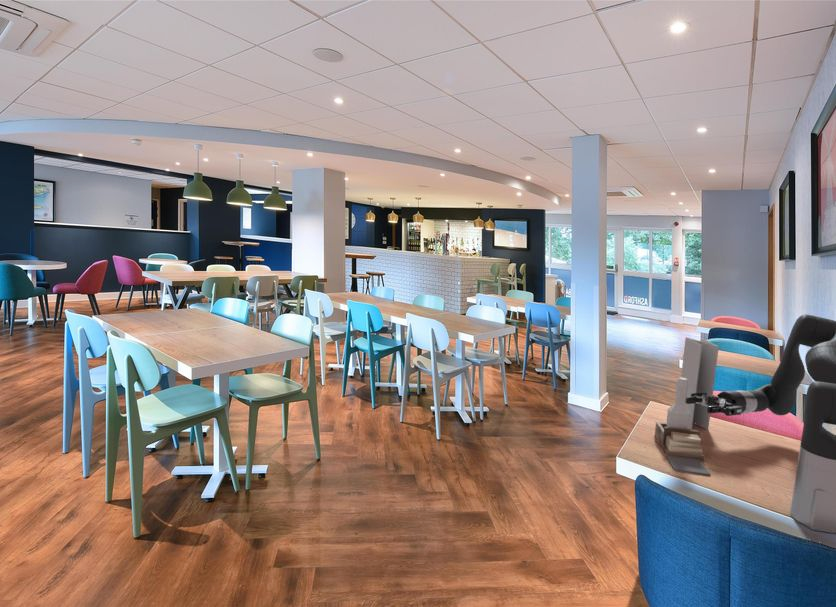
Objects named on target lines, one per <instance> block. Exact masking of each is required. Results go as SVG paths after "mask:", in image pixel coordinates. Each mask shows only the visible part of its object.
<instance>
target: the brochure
mask: <svg viewBox="0 0 836 607" xmlns="http://www.w3.org/2000/svg"><path fill="white" fill-rule="evenodd" d="M683 348H684V349H683V356H682V357H683V358H682V365H681V367H682V368H681V374H680V378H686V379H687V381H688V385H689V386H688V391H687V395H686V397H691V394H692V393H707V395H708V396H714V395H713V394H714V387H715V379H716V373H717V372H716V371H717V364H718V355H719V349H720V348H719V345H717V344H715V343H712V342H710V341H709V340H706V339H705V338H702V337H701V338H700V340H697V339H694V338H690V337H687V336H685V341H684V347H683ZM699 402H701V401H699ZM705 404H707V401H705ZM685 405H686V406H687V408H688V410H689V411H690V413H691V416H690V425H689V426H690V427H691V428H692V429H693V424H695V423H696V424H695V425H697V426H699V427H701V428H703V429H705V430H707V431H709V428H710V421H711V420H710V419H711V413H708V412H707V409H708V406H702V404H697V403H694V404H687V403H686V404H685ZM693 422H694V423H693Z"/></svg>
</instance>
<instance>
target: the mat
mask: <svg viewBox="0 0 836 607" xmlns="http://www.w3.org/2000/svg"><path fill="white" fill-rule="evenodd" d="M665 458H666V459H667V461H668V463H669V464H670V466H671V468H673V470H674V472H681V473H688V474H696V475H700V476H701V475H702V476H710V477H711V473H710V472H709V470H708V469H707V468H706V467H705V465H704V463H702V461H700V460H699V459H692V458H684V457H677V456H669V455H666V454H665Z"/></svg>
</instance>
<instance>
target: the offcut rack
mask: <svg viewBox="0 0 836 607" xmlns="http://www.w3.org/2000/svg"><path fill="white" fill-rule="evenodd" d="M654 429H655V430H654V438H655V439H656V441H657V443H658V444H659V446H660V447H661V449H662V450H663V452H664V453H665V456H666V455H669V456H677V457H684V458H692V459H699V460H700V461H701V462H704V461H705V458H706V457H705V455H704V454H703V449H702V448H701V444H702V439H701V431H700V430H695V429H693V427H692V428H691V427H690V426H689V429H680V428H671V427H667V422H660V421H656V422H655V428H654Z"/></svg>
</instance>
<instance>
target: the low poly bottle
mask: <svg viewBox="0 0 836 607" xmlns="http://www.w3.org/2000/svg"><path fill="white" fill-rule="evenodd" d="M688 386H689V385H688V381H687V379H686V378H681V377H678V378H677V381H676V383H675V400H674V403H673V404H672V405H671V406H670V407H669V408H667V415H666V423H667V427H671V428H680V429H689V425H690V416H691V413H690V411H689V410H688V408H687V406H686V405H685V404H686V395H687V391H688Z"/></svg>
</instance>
